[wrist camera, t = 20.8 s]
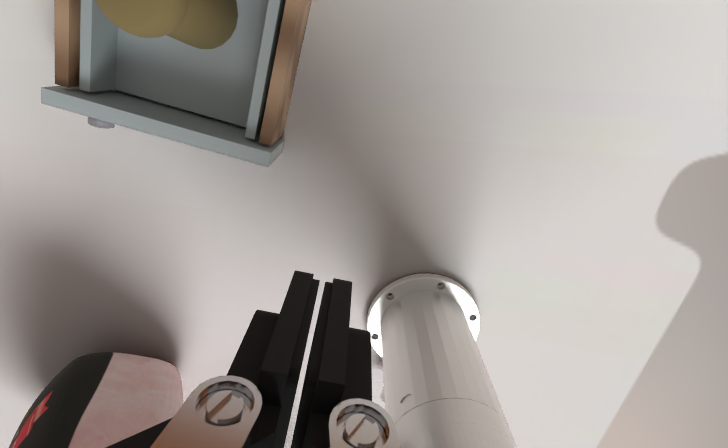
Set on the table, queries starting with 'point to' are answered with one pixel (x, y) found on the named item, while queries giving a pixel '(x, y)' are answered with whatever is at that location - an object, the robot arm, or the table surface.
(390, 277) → the table surface
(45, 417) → the packaged food
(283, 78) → the frame
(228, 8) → the cork
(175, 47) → the tray
